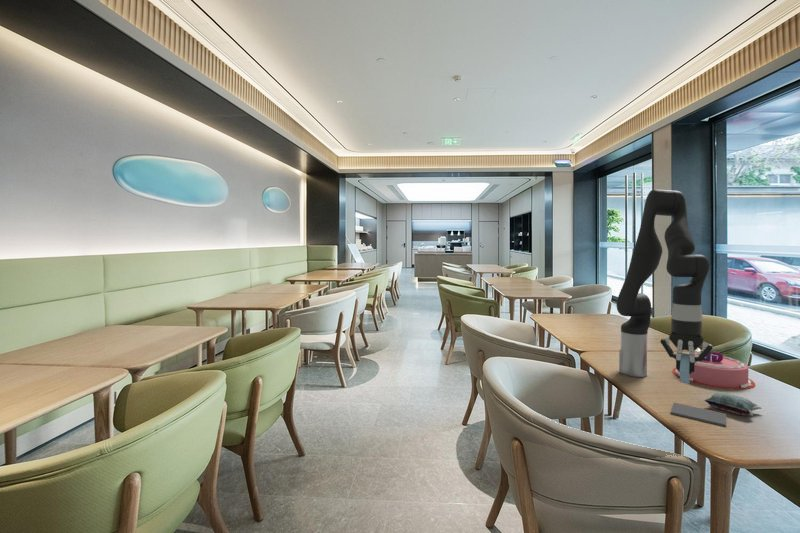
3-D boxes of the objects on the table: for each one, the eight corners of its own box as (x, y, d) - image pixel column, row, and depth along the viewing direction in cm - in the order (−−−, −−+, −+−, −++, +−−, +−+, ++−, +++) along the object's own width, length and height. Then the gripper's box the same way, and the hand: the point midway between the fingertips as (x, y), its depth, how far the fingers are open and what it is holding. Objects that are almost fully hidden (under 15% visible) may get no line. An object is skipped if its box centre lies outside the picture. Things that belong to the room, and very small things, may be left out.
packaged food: (714, 400, 123) (714, 386, 123) (761, 414, 113) (762, 398, 113) (703, 407, 119) (703, 392, 118) (752, 421, 108) (752, 405, 108)
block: (680, 382, 115) (679, 370, 112) (682, 365, 119) (681, 353, 116) (689, 384, 113) (688, 371, 110) (690, 366, 117) (690, 354, 114)
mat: (670, 413, 114) (670, 411, 114) (673, 404, 121) (673, 402, 121) (726, 426, 105) (726, 424, 105) (726, 415, 112) (726, 413, 112)
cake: (745, 373, 148) (746, 348, 148) (764, 395, 127) (765, 365, 126) (669, 364, 161) (669, 340, 161) (675, 382, 140) (676, 355, 140)
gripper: (657, 317, 116) (657, 370, 116) (715, 322, 106) (713, 380, 107) (660, 314, 121) (660, 365, 122) (715, 318, 112) (714, 373, 113)
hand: (685, 372), depth 115 cm, fingers closed on block, 2 cm apart
